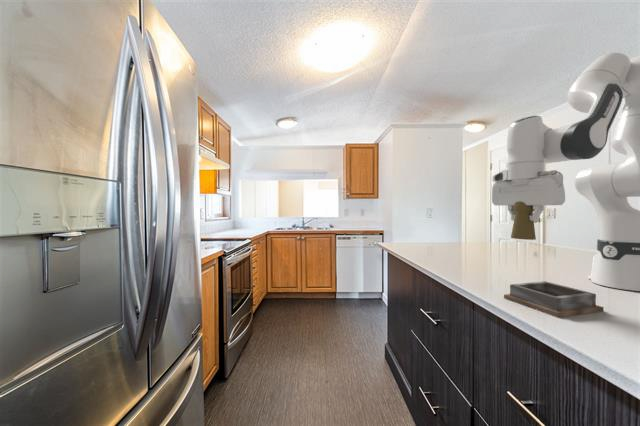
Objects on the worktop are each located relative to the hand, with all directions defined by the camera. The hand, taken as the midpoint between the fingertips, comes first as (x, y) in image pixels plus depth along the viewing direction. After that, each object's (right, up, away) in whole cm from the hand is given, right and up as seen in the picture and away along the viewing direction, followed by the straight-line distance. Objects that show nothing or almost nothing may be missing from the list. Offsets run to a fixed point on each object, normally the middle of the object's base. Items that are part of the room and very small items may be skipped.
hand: (524, 221), depth 84 cm
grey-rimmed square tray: (0, -21, -9) cm, 23 cm away
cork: (0, -5, 0) cm, 5 cm away
